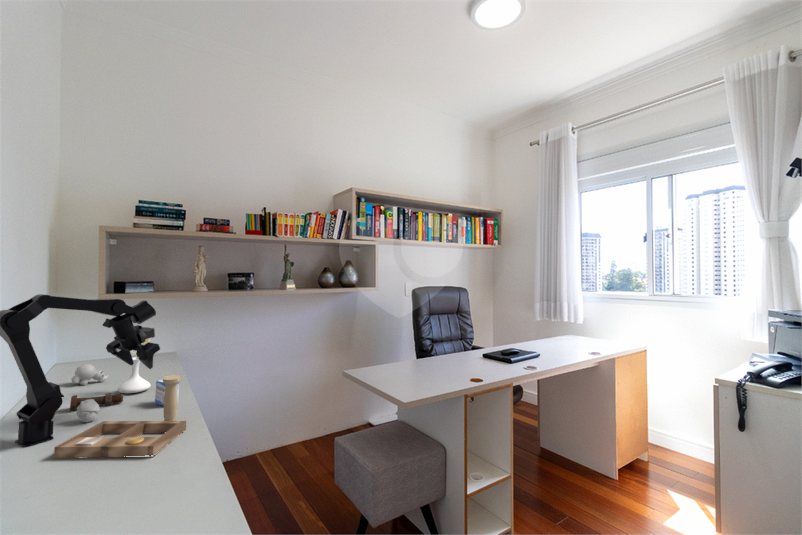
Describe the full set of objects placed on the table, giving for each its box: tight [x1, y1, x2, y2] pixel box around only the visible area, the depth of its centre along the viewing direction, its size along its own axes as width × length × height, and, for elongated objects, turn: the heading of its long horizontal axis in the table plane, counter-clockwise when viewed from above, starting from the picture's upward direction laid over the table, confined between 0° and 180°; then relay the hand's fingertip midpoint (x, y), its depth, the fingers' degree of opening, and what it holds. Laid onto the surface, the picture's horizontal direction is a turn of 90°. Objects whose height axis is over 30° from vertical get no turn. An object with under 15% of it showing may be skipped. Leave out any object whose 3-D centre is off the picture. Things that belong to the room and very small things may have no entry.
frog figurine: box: [75, 399, 101, 423], centre depth 124 cm, size 6×7×7 cm
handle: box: [162, 374, 181, 421], centre depth 125 cm, size 5×6×15 cm
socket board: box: [53, 420, 187, 460], centre depth 109 cm, size 25×18×3 cm
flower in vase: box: [117, 338, 151, 394], centre depth 157 cm, size 13×11×25 cm
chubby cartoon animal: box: [71, 363, 109, 386], centre depth 167 cm, size 7×12×8 cm, turn 130°
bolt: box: [69, 392, 124, 412], centre depth 138 cm, size 6×5×15 cm
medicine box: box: [154, 379, 180, 407], centre depth 143 cm, size 8×4×9 cm, turn 62°
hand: (141, 366), depth 137 cm, fingers open, 9 cm apart
